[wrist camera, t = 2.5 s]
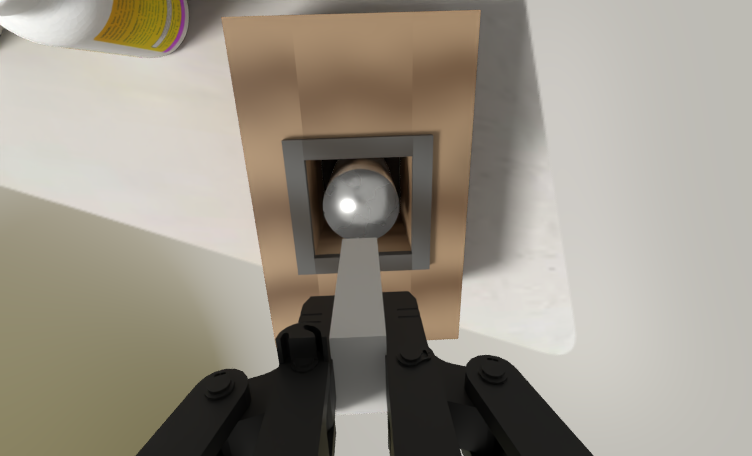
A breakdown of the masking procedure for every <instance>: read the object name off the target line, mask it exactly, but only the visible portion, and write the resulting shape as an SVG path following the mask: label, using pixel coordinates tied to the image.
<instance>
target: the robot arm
mask: <svg viewBox="0 0 752 456" xmlns="http://www.w3.org/2000/svg"><path fill="white" fill-rule="evenodd" d="M275 341H276V347H277V352H278V359H279V367H278V368H277V369H275V370H273V371H271V372H269V373H266V374H264V375H260V376H257V377H253V378H250V379H248V378H247V376H246V375H245V374H244V372H243V371H240V370H237V369H224V370H220V371H217V372H214V373H212V374H210V375H208V376H206V377H205V378H204V379H202V380H201V381H200V382H199V383H198V384H197V385H196V386H195V387H194V388H193V389H192V391H191V392H190V393H189V394H188V395H187V396H186V398H185V399H184V400H183V401H182V402H181V403H180V405H179V406H178V407H177V408H176V409H175V410H174V412H173V413H172V414H171V415H170V416H169V417H168V419H167V420H166V421H165V422H164V423H163V424H162V426H161V427H160V428H159V429H158V430H157V431H156V433H155V434H154V435H153V436H152V437H151V438H150V440H149V441H148V442H147V443H146V444H145V445H144V447H143V448H142V449H141V450H140V451H139V452H138V454H137V455H136V456H334V453H335V438H336V427H335V410H336V414H337V415H346V414H365V413H385V412H387V413H388V447H389V450H390V456H462V455H461V452H460V449H461V450H462V454H463V455H464V456H593V455H592V453H591V452H590V451H589V450H588V449H587V448H586V447H585V446H584V444H583V443H582V442H581V441H580V440H579V439H578V438H577V437H576V435H575V434H574V433H573V432H572V431H571V430H570V429H569V428H568V426H567V425H566V424H565V423H564V422H563V421H562V420H561V419H560V418H559V416H558V415H557V414H556V413H555V412H554V411H553V410H552V408H551V407H550V406H549V405H548V404H547V403H546V401H545V400H544V399H543V398H542V397H541V396H540V395H539V394H538V392H537V391H536V390H535V389H534V388H533V387H532V386H531V385H530V384H529V382H528V381H527V380H526V379H525V378H524V377H523V376H522V374H521V373H520V372H519V371H518V370H517V369H516V368H515V367H514V366H513V365H512V364H511V363H509V362H508V361H506V360H504V359H502V358H500V357H497V356H491V355H482V356H481V355H480V356H477V357H475V358H472V359H471V360H470V361H469V362H468V363H467V365H466V366H460V365H456V364H451V363H448V362H445V361H443V360H441V359H439V358H438V357H436V356H435V355H434V353H433V351H432V350H431V349H430V348H429V347H428V344H427V340H426V336H425V332H424V328H423V324H422V320H421V317H420V312H419V309H418V304H417V300H416V298H415V297H414V296H413V295H412V294H411V293H410V292H409V291H397V292H382V286H381V275H380V265H379V254H378V244H377V237H376V238H352V239H342V245H341V253H340V260H339V268H338V275H337V283H336V290H335V295H330V296H311V297H310V298H309V299H308V300H307V301H306V302H305V303H304V304H303V306H302V310H301V313H300V317H299V321H298V323H296V324H293V325H291V326H288V327H286V328H285V329H283V330H282V331H281V332H280V333H279V334H278V335H277V337H276V339H275Z"/></svg>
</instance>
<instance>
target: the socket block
mask: <svg viewBox="0 0 752 456" xmlns="http://www.w3.org/2000/svg"><path fill="white" fill-rule="evenodd" d="M480 14H481V10H459V11H423V12H387V13H351V14H314V15H278V16H242V17H221V19H222V25H223V31H224V37H225V43H226V49H227V55H228V61H229V67H230V73H231V79H232V85H233V91H234V97H235V103H236V109H237V115H238V121H239V127H240V133H241V139H242V145H243V151H244V157H245V163H246V169H247V175H248V181H249V187H250V193H251V199H252V205H253V211H254V217H255V223H256V229H257V235H258V241H259V247H260V253H261V259H262V265H263V271H264V277H265V283H266V289H267V295H268V301H269V307H270V313H271V319H272V325H273V331H274V337H275V339H276V337H277V335H278V334H279V333H280V332H281V331H282V330H283V329H285V328H286V327H288V326H291V325H293V324H296V323H298V321H299V317H300V313H301V310H302V306H303V304H304V303H305V302H306V301H307V300H308V299H309V298H310V297H311V296H330V295H335V290H336V283H337V275H338V268H339V260H340V253H341V245H342V239H345V238H343V237H341V236H340V235H338V234H337V233H336V232H334V231H333V230H332V228H331V227H330V226H329V224H328V223H327V221H326V219H325V216H324V212H323V199H324V183H323V172H322V160H327V159H355V158H382V157H400V212H399V213H398V217H397V219H396V221H395V223H394V225H393V226H392V228H391V229H390V230H389V231H388V232H387V233H386V234H384V235H383V236H381V237H379V238H377V244H378V254H379V265H380V275H381V286H382V292H397V291H409V292H410V293H411V294H412V295H413V296H414V297H415V298H416V300H417V304H418V309H419V312H420V317H421V320H422V324H423V328H424V332H425V336H426V340H441V339H458V335H459V320H460V305H461V291H462V276H463V262H464V247H465V233H466V218H467V204H468V189H469V174H470V160H471V145H472V131H473V116H474V102H475V87H476V72H477V58H478V43H479V29H480ZM275 343H276V341H275Z"/></svg>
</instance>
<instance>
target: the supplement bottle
mask: <svg viewBox="0 0 752 456" xmlns="http://www.w3.org/2000/svg"><path fill="white" fill-rule="evenodd" d="M188 24H189V11H188V4H187V1H186V0H0V25H1V26H3V27H4V28H6V29H7V30H9V31H11V32H12V33H14V34H16V35H18V36H20V37H22V38H24V39H27V40H29V41H32V42H35V43H38V44H42V45H47V46H54V47H61V48H69V49H78V50H86V51H94V52H102V53H109V54H117V55H125V56H133V57H140V58H158V57H163V56H165V55H168V54H170V53H171V52H173V51H174V50H175V49H176V48H177V47H179V45H180V44H181V43H182V41H183V39H184V38H185V35H186V33H187V29H188Z"/></svg>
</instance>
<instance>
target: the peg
mask: <svg viewBox="0 0 752 456" xmlns="http://www.w3.org/2000/svg"><path fill="white" fill-rule="evenodd" d="M323 212H324V216H325V219H326V221H327V223H328V224H329V226H330V227H331V228H332V230H333V231H334V232H336V233H337V234H338V235H340V236H341V237H343V238H345V239H352V238H376V237H377V238H379V237H381V236H383V235H384V234H386V233H387V232H388V231H389V230H390V229H391V228H392V226H393V225H394V223H395V221H396V219H397V217H398V213H399V198H398V195H397V191H396V188H395V185H394V182H393V179H392V176H391V173H390V170H389V167H388V165H387V163H386V161H385V160H384V159H383V158H355V159H338V161H337V162H336V164H335V166H334V169H333V172H332V175H331V177H330V180H329V183H328V186H327V189H326V192H325V195H324V199H323Z"/></svg>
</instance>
